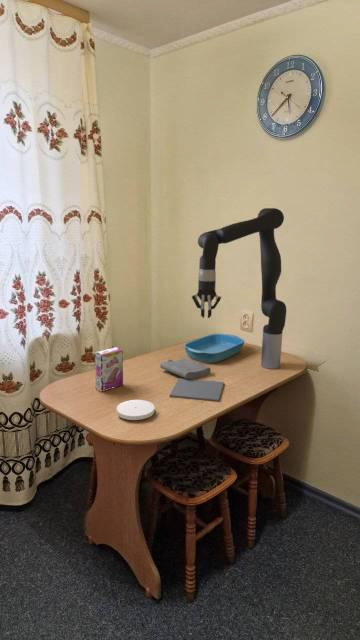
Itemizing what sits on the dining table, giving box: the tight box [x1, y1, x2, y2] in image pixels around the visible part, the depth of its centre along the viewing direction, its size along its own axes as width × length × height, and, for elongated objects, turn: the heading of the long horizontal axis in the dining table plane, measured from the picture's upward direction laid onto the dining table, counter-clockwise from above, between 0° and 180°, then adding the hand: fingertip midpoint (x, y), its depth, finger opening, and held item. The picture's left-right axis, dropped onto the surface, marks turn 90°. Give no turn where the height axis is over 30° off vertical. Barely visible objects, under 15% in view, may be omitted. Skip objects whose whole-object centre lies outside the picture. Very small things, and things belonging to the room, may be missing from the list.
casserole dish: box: [183, 333, 245, 364], centre depth 228 cm, size 37×22×7 cm, turn 140°
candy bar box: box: [94, 346, 124, 392], centre depth 183 cm, size 11×5×16 cm, turn 134°
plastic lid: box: [116, 399, 155, 421], centre depth 161 cm, size 14×14×2 cm
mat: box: [169, 377, 225, 403], centre depth 183 cm, size 19×20×1 cm
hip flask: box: [159, 357, 212, 380], centre depth 203 cm, size 16×4×20 cm
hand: (206, 317), depth 195 cm, fingers closed
